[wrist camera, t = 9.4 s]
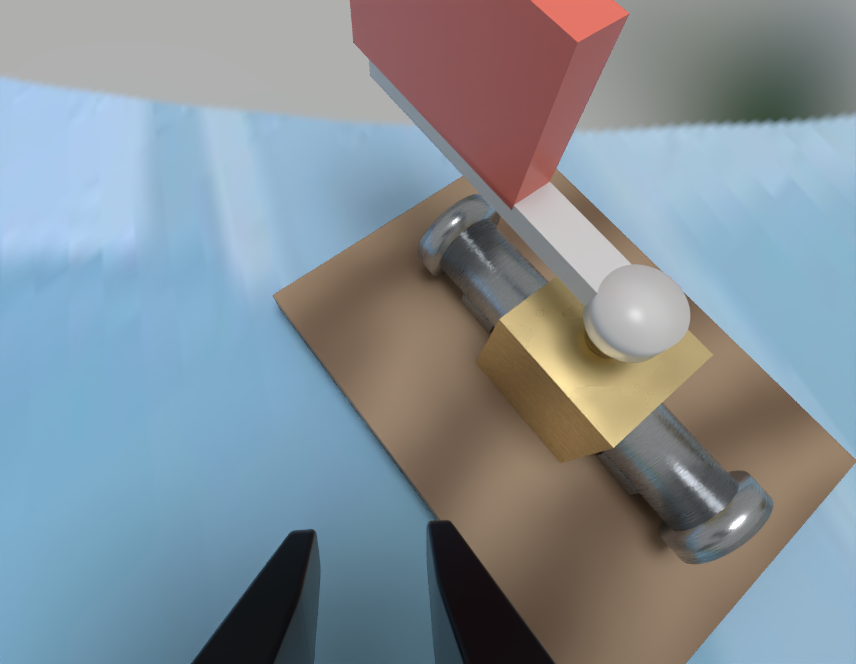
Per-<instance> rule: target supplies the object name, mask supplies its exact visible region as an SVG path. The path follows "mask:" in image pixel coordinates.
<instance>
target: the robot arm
mask: <svg viewBox="0 0 856 664" xmlns="http://www.w3.org/2000/svg"><path fill="white" fill-rule="evenodd" d="M427 572H428V584H429V596H430V608H431V621H432V633H433V645H434V654H435V663H436V664H556V663H555V662H554V660H553V659H552V658H551V656H550V655H549V653H548V652H547V651H546V649H545V648H544V647H543V645H542V644H541V643H540V641H539V640H538V639H537V637H536V636H535V634H534V633H533V632H532V630H531V629H530V628H529V626H528V625H527V624H526V622H525V621H524V620H523V618H522V617H521V615H520V614H519V613H518V611H517V610H516V609H515V607H514V606H513V605H512V603H511V602H510V601H509V599H508V598H507V596H506V595H505V594H504V592H503V591H502V590H501V588H500V587H499V586H498V584H497V583H496V582H495V580H494V579H493V577H492V576H491V575H490V573H489V572H488V571H487V569H486V568H485V567H484V565H483V564H482V562H481V561H480V560H479V558H478V557H477V556H476V554H475V553H474V552H473V550H472V549H471V548H470V546H469V545H468V543H467V542H466V541H465V539H464V538H463V537H462V535H461V534H460V533H459V531H458V530H457V529H456V527H455V526H454V524H453V523H452V522H451V521H449V520H438V521H430V522H428V524H427ZM319 588H320V558H319V550H318V541H317V534H316V532H315V531H314V530H313V529H308V530H294V531H292V532H290V533H289V534H288V536H287V537H286V538H285V540H284V541H283V542H282V544H281V545H280V546H279V548H278V549H277V550H276V552H275V553H274V554H273V556H272V557H271V558H270V560H269V561H268V562H267V564H266V565H265V566H264V568H263V569H262V570H261V572H260V573H259V574H258V576H257V577H256V578H255V579H254V581H253V582H252V583H251V585H250V586H249V587H248V589H247V590H246V591H245V593H244V594H243V595H242V597H241V598H240V599H239V601H238V602H237V603H236V605H235V606H234V607H233V609H232V610H231V611H230V613H229V614H228V615H227V617H226V618H225V619H224V621H223V622H222V623H221V625H220V626H219V627H218V629H217V630H216V631H215V633H214V634H213V635H212V637H211V638H210V639H209V641H208V642H207V643H206V645H205V646H204V647H203V648H202V650H201V651H200V652H199V654H198V655H197V656H196V658H195V659H194V660H193V662H192V663H191V664H314V656H315V643H316V629H317V615H318V601H319Z"/></svg>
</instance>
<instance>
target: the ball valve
mask: <svg viewBox="0 0 856 664" xmlns="http://www.w3.org/2000/svg"><path fill="white" fill-rule="evenodd" d="M499 220H500V215H499V214H498V213H497V212H496V210H495V209H494V208H493V207H492V206H491V205H490V204H489V203H488V202H487V201H486V200H485V199H484V198H483V196H482V195H481V194H473V195H470V196H467V197H465V198H463V199H461V200H460V201H458V202H456V203H455V204H454V205H452V206H451V207H450V208H448V209H447V210H446V211H445V212H444V213H442V214H441V215H440V216H439V217H438V218H437V219H436V220H435V221H434V222H433V224H432V225H431V226H430V227H429V229H428V230H427V231H426V233H425V234H424V236H423V237H422V239H421V241H420V243H419V245H418V248H417V257H418V258H419V259H420V261H421V262H422V263H423V264H424V265H425V266H426V267H427V269H428V270H429V271H430V272H431V273H432V274H433V275H435V276H440V275H444V274H446V273H447V275H448V276H449V277H450V278H451V279H452V280H453V281H454V283H455V284H456V285H457V286H458V287H459V288H460V289H461V290H462V292H463V293H464V294H463V297H462V300H461V303H462V304H463V305H464V306H465V307H466V308H467V309H468V311H469V312H470V313H471V314H472V315H473V316H474V318H475V319H476V320H477V321H478V322H479V323H480V324H481V326H482V327H483V328H484V329H485V330H486V331H487V332H488V334H489V333H490V332H491V331H493V332H492V333H491V335H490V337H489V339H488V341H487V343H486V344H485V346H484V348H483V350H482V352H481V353H480V355H479V357H478V359H477V361H476V364H477V365H478V366H479V367H480V369H481V370H482V371H483V372H484V373H485V375H486V376H487V377H488V378H489V379H490V380H491V382H492V383H493V384H494V385H495V386H496V388H497V389H498V390H499V391H500V392H501V393H502V395H503V396H504V397H505V398H506V399H507V401H508V402H509V403H510V404H511V405H512V406H513V408H514V409H515V410H516V411H517V412H518V414H519V415H520V416H521V417H522V418H523V419H524V421H525V422H526V423H527V424H528V425H529V427H530V428H531V429H532V430H533V431H534V432H535V434H536V435H537V436H538V437H539V438H540V440H541V441H542V442H543V443H544V444H545V445H546V447H547V448H548V449H549V450H550V451H551V452H552V454H553V455H554V456H555V457H556V458H557V460H558V461H559V462H560V463H564V462H567V461H571V460H574V459H578V458H581V457H584V456H588V455H591V454H594V453H598V452H599V453H598V454H597V455H595V456H596V457H597V459H598V460H599V461H600V462H601V463H602V464H603V465H604V467H605V468H606V469H607V470H608V471H609V472H610V473H611V475H612V476H613V477H614V478H615V479H616V480H617V482H618V483H619V484H620V485H621V486H622V487H623V488H624V490H625V491H626V492H627V493H628V494H638V493H640V494H641V495H642V496H643V498H644V499H645V500H646V501H647V502H648V503H649V504H650V505H651V507H652V508H653V509H654V510H655V511H656V512H657V513H658V515H659V516H660V517H661V518H662V519H663V520H662V522H661V524H660V527H659V535H660V537H661V538H662V539H663V540H664V541H665V542H666V544H667V545H668V546H669V547H670V548H671V549H672V551H673V552H674V553H675V554H676V555H677V556H678V557H679V559H680V560H681V561H683V562H684V563H687V564H703V563H707V562H711V561H714V560H716V559H719V558H721V557H723V556H725V555H727V554H729V553H731V552H733V551H734V550H736V549H738V548H739V547H741V546H742V545H744V544H745V543H746V542H747V541H749V540H750V539H751V538H752V537H753V536H754V535H756V534H757V533H758V531H759V530H760V529H761V528H762V527H763V526H764V525H765V523H766V522H767V520H768V519H769V517H770V515H771V513H772V510H773V505H774V504H773V499H772V497H771V496H770V495H769V494H768V493H767V492H766V491H765V490H764V489H763V488H762V487H761V486H760V485H759V483H758V482H757V481H756V480H755V479H754V478H753V477H752V476H751V475H750V474H749V473H748V472H746V471H741V470H736V471H730V472H728V471H727V470H726V469H725V468H724V467H723V466H722V465H721V464H720V463H719V462H718V461H717V459H716V458H715V457H714V456H713V455H712V454H711V453H710V452H709V451H708V450H707V449H706V448H705V447H704V446H703V445H702V444H701V443H700V441H699V440H698V439H697V438H696V437H695V436H694V435H693V434H692V433H691V432H690V431H689V430H688V429H687V428H686V427H685V426H684V425H683V423H682V422H681V421H680V420H679V419H678V418H677V417H676V416H675V415H674V414H673V413H672V412H671V411H670V410H669V409H668V408H667V407H666V405H665V404H664V403H663V401H664V400H665V399H666V398H668V397H669V396H670V395H671V394H672V393H673V392H674V391H675V390H676V389H677V388H678V387H679V386H680V385H682V384H683V383H684V382H685V381H686V380H687V379H688V378H689V377H690V376H691V375H692V374H693V373H694V372H695V371H697V370H698V369H699V368H700V367H701V366H702V365H703V364H704V363H705V362H706V361H707V360H708V359H709V358H710V357H712V356H713V354H712V353H711V352H710V351H709V350H708V349H707V348H706V347H705V346H704V345H703V344H702V343H701V342H700V341H699V340H698V339H697V338H696V337H695V336H694V335H693V334H692V333H691V332H690V331H689V330H687V332H686V334H685V335H684V337H683V338H682V339H681V340H680V341H679V342H678V343H676V344H675V345H673V346H672V347H670V348H668V349H667V350H665V351H663V352H662V353H660V354H658V355H657V356H655V357H653V358H651V359H649V360H647V361H644V362H639V363H629V362H623V361H619V360H616V359H614V358H612V357H610V356H608V355H606V354H605V353H604V352H602V351H601V350H600V349H599V348H598V347H597V346H596V345H595V344H594V343H593V342H592V340H591V339H590V337H589V335H588V333H587V331H586V328H585V325H584V320H583V311H584V305H583V304H582V303H581V302H580V301H579V300H578V299H577V298H576V296H575V295H574V294H573V293H572V292H571V291H570V290H569V289H568V288H567V287H566V286H565V285H564V284H563V282H562V281H561V280H560V279H559V278H558V277H557V276H556V277H555V278H553V279H552V280H551V281H548V280H547V279H546V278H545V277H544V276H543V275H542V274H541V273H540V272H539V271H538V270H537V269H536V268H535V267H534V266H533V265H532V263H531V262H530V261H529V260H528V259H527V258H526V257H525V256H524V255H523V254H522V253H521V252H520V251H519V250H518V249H517V248H516V247H515V245H514V244H513V243H512V242H511V241H510V240H509V239H508V238H507V237H506V236H505V235H504V234H503V233H502V232H501V231H500V230H499V229H498V227H497V225H498V223H499Z"/></svg>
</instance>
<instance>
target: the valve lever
mask: <svg viewBox="0 0 856 664" xmlns="http://www.w3.org/2000/svg"><path fill="white" fill-rule="evenodd" d="M350 7H351V19H352V31H353V43H354V44H355V45H356V46H357V47H358V48H359V49H360V50H361V51H362V52H363V53H364V54H365V55H366V56H367V57H368V58H369V66H370V76H371V77H372V78H373V79H374V80H375V81H376V82H377V83H378V85H379V86H380V87H381V88H382V89H383V90H384V91H385V92H386V93H387V94H388V95H389V96H390V97H391V99H392V100H393V101H394V102H395V103H396V104H397V105H398V106H399V107H400V108H401V109H402V110H403V112H404V113H405V114H406V115H407V116H408V117H409V118H410V119H411V120H412V121H413V122H414V123H415V124H416V126H417V127H418V128H419V129H420V130H421V131H422V132H423V133H424V134H425V135H426V136H427V137H428V138H429V139H430V141H431V142H432V143H433V144H434V145H435V146H436V147H437V148H438V149H439V150H440V151H441V152H442V153H443V155H444V156H445V157H446V158H447V159H448V160H449V161H450V162H451V163H452V164H453V165H454V166H455V167H456V169H457V170H458V171H459V172H460V173H461V174H462V175H463V176H464V177H465V178H466V179H467V180H468V181H469V182H470V184H471V185H472V186H473V187H474V188H475V189H476V190H477V191H478V192H479V193H480V194H481V195H482V196H483V198H484V199H485V200H486V201H487V202H488V203H489V204H490V205H491V206H492V207H493V208H494V209H495V210H496V212H497V213H498V214H499V215H500V216H501V217H502V218H503V219H504V220H505V221H506V222H507V223H508V224H509V225H510V227H511V228H512V229H513V230H514V231H515V232H516V233H517V234H518V235H519V236H520V237H521V238H522V239H523V241H524V242H525V243H526V244H527V245H528V246H529V247H530V248H531V249H532V250H533V251H534V252H535V253H536V255H537V256H538V257H539V258H540V259H541V260H542V261H543V262H544V263H545V264H546V265H547V266H548V267H549V269H550V270H551V271H552V272H553V273H554V274H555V275H556V276H557V277H558V278H559V279H560V280H561V281H562V282H563V284H564V285H565V286H566V287H567V288H568V289H569V290H570V291H571V292H572V293H573V294H574V295H575V296H576V298H577V299H578V300H579V301H580V302H581V303H582V304H583V305H584V311H583V320H584V325H585V328H586V331H587V333H588V335H589V337H590V339H591V340H592V342H593V343H594V344H595V345H596V346H597V347H598V348H599V349H600V350H601V351H602V352H604V353H605V354H606V355H608V356H610V357H612V358H614V359H616V360H619V361H623V362H629V363H639V362H644V361H647V360H649V359H651V358H653V357H655V356H657V355H658V354H660V353H662V352H663V351H665V350H667V349H668V348H670V347H672V346H673V345H675V344H676V343H678V342H679V341H680V340H681V339H682V338H683V337H684V335H685V334H686V332H687V330H688V327H689V324H690V307H689V304H688V301H687V298H686V296H685V294H684V292H683V291H682V289H681V288H680V287H679V285H678V284H677V283H676V282H675V281H674V280H673V279H672V278H671V277H669V276H668V275H667V274H665V273H663V272H662V271H660V270H658V269H655V268H653V267H650V266H645V265H638V264H634V265H632V264H631V263H630V262H629V261H628V260H627V259H626V258H625V257H624V256H623V255H622V254H621V253H620V252H619V251H618V250H617V249H616V248H615V247H614V246H613V245H612V244H611V243H610V242H609V241H608V240H607V239H606V238H605V237H604V236H603V235H602V234H601V233H600V232H599V231H598V230H597V229H596V228H595V227H594V226H593V225H592V224H591V223H590V222H589V221H588V220H587V219H586V218H585V217H584V216H583V215H582V214H581V213H580V212H579V211H578V210H577V209H576V208H575V207H574V206H573V205H572V204H571V203H570V202H569V201H568V200H567V198H566V197H565V196H564V195H563V194H562V193H561V192H560V191H559V190H558V189H557V188H556V187H555V186H554V185H553V184H552V183H551V182H550V180H551V178H552V176H553V174H554V172H555V170H556V168H557V166H558V163H559V161H560V159H561V157H562V155H563V153H564V151H565V149H566V147H567V144H568V142H569V140H570V138H571V136H572V134H573V132H574V130H575V128H576V125H577V123H578V121H579V119H580V117H581V115H582V113H583V111H584V109H585V106H586V104H587V102H588V100H589V98H590V96H591V94H592V92H593V89H594V87H595V85H596V83H597V81H598V79H599V77H600V75H601V73H602V70H603V68H604V66H605V64H606V62H607V60H608V58H609V56H610V54H611V51H612V49H613V47H614V45H615V43H616V41H617V39H618V36H619V34H620V32H621V30H622V28H623V26H624V24H625V22H626V20H627V18H628V16H629V13H628V12H627V11H626V10H625V9H623V8H622V7H621V6H620V5H618V4H617V3H616V2H615V1H614V0H350Z"/></svg>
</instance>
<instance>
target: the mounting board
mask: <svg viewBox="0 0 856 664" xmlns="http://www.w3.org/2000/svg"><path fill="white" fill-rule="evenodd" d="M550 182H551V183H552V184H553V185H554V186H555V187H556V188H557V189H558V190H559V191H560V192H561V193H562V194H563V195H564V196H565V197H566V198H567V200H568V201H569V202H570V203H571V204H572V205H573V206H574V207H575V208H576V209H577V210H578V211H579V212H580V213H581V214H582V215H583V216H584V217H585V218H586V219H587V220H588V221H589V222H590V223H591V224H592V225H593V226H594V227H595V228H596V229H597V230H598V231H599V232H600V233H601V234H602V235H603V236H604V237H605V238H606V239H607V240H608V241H609V242H610V243H611V244H612V245H613V246H614V247H615V248H616V249H617V250H618V251H619V252H620V253H621V254H622V255H623V256H624V257H625V258H626V259H627V260H628V261H629V262H630V263H631V264H632V265H634V264H638V265H645V266H650V267H653V268H655V269H658V270H660V269H659V268H658V267H657V266H656V265H655V264H654V263H653V262H652V261H651V260H650V259H649V258H648V257H647V256H646V255H645V254H644V253H643V252H642V251H641V250H640V249H639V248H638V247H637V246H636V245H634V244H633V243H632V242H631V241H630V240H629V239H628V238H627V237H626V236H625V235H624V234H623V233H622V232H621V231H620V230H619V229H618V228H617V227H616V226H615V225H614V224H613V223H612V222H611V221H610V220H609V219H608V218H607V217H606V216H605V215H604V214H603V213H602V212H601V211H600V210H598V209H597V208H596V207H595V206H594V205H593V204H592V203H591V202H590V201H589V200H588V199H587V198H586V197H585V196H584V195H583V194H582V193H581V192H580V191H579V190H578V189H577V188H576V187H575V186H574V185H573V184H572V183H571V182H570V181H569V180H568V179H567V178H566V177H565V176H564V175H563V174H561V173H560V172H559V171H558V170H557V169H556V170H555V172H554V174H553V176H552V178H551V180H550ZM473 194H480V193H479V192H478V191H477V190H476V189H475V188H474V187H473V186H472V185H471V184H470V182H469V181H468V180H467V179H466V178H465V177H464V176H462V177H460V178H459V179H457V180H456V181H454V182H452V183H451V184H449V185H448V186H446V187H444V188H443V189H441V190H440V191H438V192H436V193H435V194H433V195H432V196H430V197H429V198H427V199H425V200H424V201H422V202H421V203H419V204H417V205H416V206H414V207H413V208H411V209H409V210H408V211H406V212H405V213H403V214H401V215H400V216H398V217H397V218H395V219H393V220H392V221H390V222H389V223H387V224H385V225H384V226H382V227H381V228H379V229H377V230H376V231H374V232H373V233H371V234H369V235H368V236H366V237H365V238H363V239H361V240H360V241H358V242H357V243H355V244H354V245H352V246H350V247H349V248H347V249H346V250H344V251H342V252H341V253H339V254H338V255H336V256H334V257H333V258H331V259H330V260H328V261H326V262H325V263H323V264H322V265H320V266H318V267H317V268H315V269H314V270H312V271H310V272H309V273H307V274H306V275H304V276H302V277H301V278H299V279H298V280H296V281H294V282H293V283H291V284H290V285H288V286H287V287H285V288H283V289H282V290H280V291H279V292H277V293H275V294H274V295H272V296H273V297H274V299H275V301H276V303H277V305H278V306H279V308H280V310H281V311H282V312H283V314H284V315H285V316H286V318H287V319H288V320H289V322H290V323H291V324H292V326H293V327H294V328H295V330H296V331H297V332H298V334H299V335H300V336H301V338H302V339H303V340H304V342H305V343H306V344H307V346H308V347H309V348H310V350H311V351H312V352H313V354H314V355H315V356H316V358H317V359H318V360H319V362H320V363H321V364H322V366H323V367H324V368H325V370H326V371H327V372H328V374H329V375H330V376H331V378H332V379H333V380H334V382H335V383H336V385H337V386H338V387H339V389H340V390H341V391H342V393H343V394H344V395H345V397H346V398H347V399H348V401H349V402H350V403H351V405H352V406H353V407H354V409H355V410H356V411H357V413H358V414H359V415H360V417H361V418H362V419H363V421H364V422H365V423H366V425H367V426H368V427H369V429H370V430H371V431H372V433H373V434H374V435H375V437H376V438H377V439H378V441H379V442H380V443H381V445H382V446H383V447H384V449H385V450H386V451H387V453H388V454H389V455H390V457H391V458H392V460H393V461H394V462H395V464H396V465H397V466H398V468H399V469H400V470H401V472H402V473H403V474H404V476H405V477H406V478H407V480H408V481H409V482H410V484H411V485H412V486H413V488H414V489H415V490H416V492H417V493H418V494H419V496H420V497H421V498H422V500H423V501H424V502H425V504H426V505H427V506H428V508H429V509H430V510H431V512H432V513H433V514H434V516H435V517H436V518H437V520H449V521H451V522H452V523H453V524H454V526H455V527H456V529H457V530H458V531H459V533H460V534H461V535H462V537H463V538H464V539H465V541H466V542H467V543H468V545H469V546H470V548H471V549H472V550H473V552H474V553H475V554H476V556H477V557H478V558H479V560H480V561H481V562H482V564H483V565H484V567H485V568H486V569H487V571H488V572H489V573H490V575H491V576H492V577H493V579H494V580H495V582H496V583H497V584H498V586H499V587H500V588H501V590H502V591H503V592H504V594H505V595H506V596H507V598H508V599H509V601H510V602H511V603H512V605H513V606H514V607H515V609H516V610H517V611H518V613H519V614H520V615H521V617H522V618H523V620H524V621H525V622H526V624H527V625H528V626H529V628H530V629H531V630H532V632H533V633H534V634H535V636H536V637H537V639H538V640H539V641H540V643H541V644H542V645H543V647H544V648H545V649H546V651H547V652H548V653H549V655H550V656H551V658H552V659H553V660H554V662H555V663H556V664H686V662H687V661H688V660H689V659H690V658H691V657H692V655H693V654H694V653H695V652H696V651H697V649H698V648H699V647H700V646H701V645H702V644H703V642H704V641H705V640H706V639H707V638H708V636H709V635H710V634H711V633H712V632H713V631H714V629H715V628H716V627H717V626H718V625H719V623H720V622H721V621H722V620H723V619H724V618H725V616H726V615H727V614H728V613H729V612H730V610H731V609H732V608H733V607H734V606H735V605H736V603H737V602H738V601H739V600H740V599H741V597H742V596H743V595H744V594H745V593H746V592H747V590H748V589H749V588H750V587H751V586H752V584H753V583H754V582H755V581H756V580H757V579H758V577H759V576H760V575H761V574H762V573H763V571H764V570H765V569H766V568H767V567H768V566H769V564H770V563H771V562H772V561H773V560H774V558H775V557H776V556H777V555H778V554H779V553H780V551H781V550H782V549H783V548H784V547H785V545H786V544H787V543H788V542H789V541H790V540H791V538H792V537H793V536H794V535H795V534H796V532H797V531H798V530H799V529H800V528H801V527H802V525H803V524H804V523H805V522H806V521H807V519H808V518H809V517H810V516H811V515H812V514H813V512H814V511H815V510H816V509H817V508H818V506H819V505H820V504H821V503H822V502H823V501H824V499H825V498H826V497H827V496H828V495H829V493H830V492H831V491H832V490H833V489H834V488H835V486H836V485H837V484H838V483H839V482H840V480H841V479H842V478H843V477H844V476H845V475H846V473H847V472H848V471H849V470H850V469H851V467H852V466H853V465H854V464H855V463H856V459H855V458H854V457H853V456H851V455H850V454H849V453H848V452H847V451H846V450H845V449H844V448H843V447H842V446H841V445H840V444H839V443H838V442H837V441H836V440H835V439H834V438H833V437H832V436H831V435H830V434H829V433H828V432H827V431H826V430H825V429H824V428H823V427H822V426H821V425H820V424H819V423H818V422H817V421H815V420H814V419H813V418H812V417H811V416H810V415H809V414H808V413H807V412H806V411H805V410H804V409H803V408H802V407H801V406H800V405H799V404H798V403H797V402H796V401H795V400H794V399H793V398H792V397H791V396H790V395H789V394H788V393H787V392H786V391H785V390H784V389H783V388H782V387H781V386H779V385H778V384H777V383H776V382H775V381H774V380H773V379H772V378H771V377H770V376H769V375H768V374H767V373H766V372H765V371H764V370H763V369H762V368H761V367H760V366H759V365H758V364H757V363H756V362H755V361H754V360H753V359H752V358H751V357H750V356H749V355H748V354H747V353H746V352H745V351H744V350H742V349H741V348H740V347H739V346H738V345H737V344H736V343H735V342H734V341H733V340H732V339H731V338H730V337H729V336H728V335H727V334H726V333H725V332H724V331H723V330H722V329H721V328H720V327H719V326H718V325H717V324H716V323H715V322H714V321H713V320H712V319H711V318H710V317H709V316H708V315H706V314H705V313H704V312H703V311H702V310H701V309H700V308H699V307H698V306H697V305H696V304H695V303H694V302H693V301H692V300H691V299H690V298H689V297H688V296H687V295H686V294H685V293H684V294H685V296H686V298H687V301H688V304H689V307H690V324H689V327H688V330H689V331H690V332H691V333H692V334H693V335H694V336H695V337H696V338H697V339H698V340H699V341H700V342H701V343H702V344H703V345H704V346H705V347H706V348H707V349H708V350H709V351H710V352H711V353H712V354H713V356H712V357H710V358H709V359H708V360H707V361H706V362H705V363H704V364H703V365H702V366H701V367H700V368H699V369H698V370H697V371H695V372H694V373H693V374H692V375H691V376H690V377H689V378H688V379H687V380H686V381H685V382H684V383H683V384H682V385H680V386H679V387H678V388H677V389H676V390H675V391H674V392H673V393H672V394H671V395H670V396H669V397H668V398H666V399H665V400H664V401H663V403H664V404H665V405H666V407H667V408H668V409H669V410H670V411H671V412H672V413H673V414H674V415H675V416H676V417H677V418H678V419H679V420H680V421H681V422H682V423H683V425H684V426H685V427H686V428H687V429H688V430H689V431H690V432H691V433H692V434H693V435H694V436H695V437H696V438H697V439H698V440H699V441H700V443H701V444H702V445H703V446H704V447H705V448H706V449H707V450H708V451H709V452H710V453H711V454H712V455H713V456H714V457H715V458H716V459H717V461H718V462H719V463H720V464H721V465H722V466H723V467H724V468H725V469H726V470H727V471H728V472H730V471H736V470H741V471H746V472H748V473H749V474H750V475H751V476H752V477H753V478H754V479H755V480H756V481H757V482H758V483H759V485H760V486H761V487H762V488H763V489H764V490H765V491H766V492H767V493H768V494H769V495H770V496H771V497H772V499H773V504H774V505H773V510H772V513H771V515H770V517H769V519H768V520H767V522H766V523H765V525H764V526H763V527H762V528H761V529H760V530H759V531H758V533H757V534H756V535H754V536H753V537H752V538H751V539H750V540H749V541H747V542H746V543H745V544H744V545H742V546H741V547H739V548H738V549H736V550H734V551H733V552H731V553H729V554H727V555H725V556H723V557H721V558H719V559H716V560H714V561H711V562H707V563H703V564H687V563H684V562H683V561H681V560H680V559H679V557H678V556H677V555H676V554H675V553H674V552H673V551H672V549H671V548H670V547H669V546H668V545H667V544H666V542H665V541H664V540H663V539H662V538H661V537H660V535H659V527H660V524H661V522H662V520H663V519H662V518H661V517H660V516H659V515H658V513H657V512H656V511H655V510H654V509H653V508H652V507H651V505H650V504H649V503H648V502H647V501H646V500H645V499H644V498H643V496H642V495H641V494H640V493H638V494H628V493H627V492H626V491H625V490H624V488H623V487H622V486H621V485H620V484H619V483H618V482H617V480H616V479H615V478H614V477H613V476H612V475H611V473H610V472H609V471H608V470H607V469H606V468H605V467H604V465H603V464H602V463H601V462H600V461H599V460H598V459H597V457H596V456H595V455H597V454H598V453H599V452H598V453H594V454H591V455H588V456H584V457H581V458H578V459H574V460H571V461H567V462H564V463H560V462H559V461H558V460H557V458H556V457H555V456H554V455H553V454H552V452H551V451H550V450H549V449H548V448H547V447H546V445H545V444H544V443H543V442H542V441H541V440H540V438H539V437H538V436H537V435H536V434H535V432H534V431H533V430H532V429H531V428H530V427H529V425H528V424H527V423H526V422H525V421H524V419H523V418H522V417H521V416H520V415H519V414H518V412H517V411H516V410H515V409H514V408H513V406H512V405H511V404H510V403H509V402H508V401H507V399H506V398H505V397H504V396H503V395H502V393H501V392H500V391H499V390H498V389H497V388H496V386H495V385H494V384H493V383H492V382H491V380H490V379H489V378H488V377H487V376H486V375H485V373H484V372H483V371H482V370H481V369H480V367H479V366H478V365H477V364H476V361H477V359H478V357H479V355H480V353H481V352H482V350H483V348H484V346H485V344H486V343H487V341H488V339H489V337H490V335H491V333H492V332H493V331H491V332H490V333H489V334H488V332H487V331H486V330H485V329H484V328H483V327H482V326H481V324H480V323H479V322H478V321H477V320H476V319H475V318H474V316H473V315H472V314H471V313H470V312H469V311H468V309H467V308H466V307H465V306H464V305H463V304H462V303H461V300H462V297H463V294H464V293H463V292H462V290H461V289H460V288H459V287H458V286H457V285H456V284H455V283H454V281H453V280H452V279H451V278H450V277H449V276H448V275H447V273H446V274H444V275H440V276H435V275H433V274H432V273H431V272H430V271H429V270H428V269H427V267H426V266H425V265H424V264H423V263H422V262H421V261H420V259H419V258H418V257H417V248H418V245H419V243H420V241H421V239H422V237H423V236H424V234H425V233H426V231H427V230H428V229H429V227H430V226H431V225H432V224H433V222H434V221H435V220H436V219H437V218H438V217H439V216H440V215H441V214H442V213H444V212H445V211H446V210H447V209H448V208H450V207H451V206H452V205H454V204H455V203H456V202H458V201H460V200H461V199H463V198H465V197H467V196H470V195H473ZM497 227H498V229H499V230H500V231H501V232H502V233H503V234H504V235H505V236H506V237H507V238H508V239H509V240H510V241H511V242H512V243H513V244H514V245H515V247H516V248H517V249H518V250H519V251H520V252H521V253H522V254H523V255H524V256H525V257H526V258H527V259H528V260H529V261H530V262H531V263H532V265H533V266H534V267H535V268H536V269H537V270H538V271H539V272H540V273H541V274H542V275H543V276H544V277H545V278H546V279H547V280H548V281H551V280H552V279H553V278H555V277H556V275H555V274H554V273H553V272H552V271H551V270H550V269H549V267H548V266H547V265H546V264H545V263H544V262H543V261H542V260H541V259H540V258H539V257H538V256H537V255H536V253H535V252H534V251H533V250H532V249H531V248H530V247H529V246H528V245H527V244H526V243H525V242H524V241H523V239H522V238H521V237H520V236H519V235H518V234H517V233H516V232H515V231H514V230H513V229H512V228H511V227H510V225H509V224H508V223H507V222H506V221H505V220H504V219H503V218H502V217H501V216H500V220H499V223H498V225H497ZM660 271H661V270H660Z"/></svg>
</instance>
